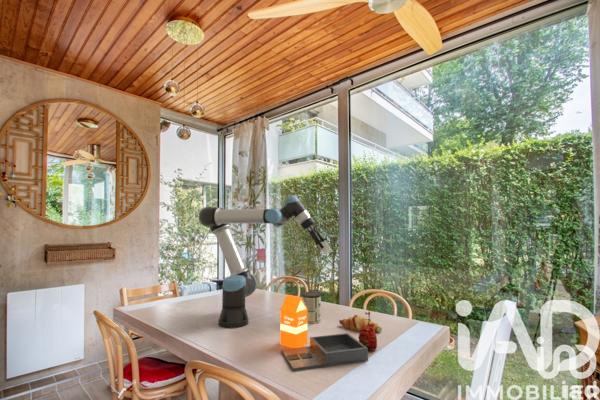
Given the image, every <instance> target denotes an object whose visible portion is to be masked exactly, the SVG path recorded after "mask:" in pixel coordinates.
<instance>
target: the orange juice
mask: <svg viewBox="0 0 600 400" xmlns="http://www.w3.org/2000/svg"><path fill="white" fill-rule="evenodd" d="M279 326H280V327H279V331H280V332H279V333H280V335H279V336H280V338H279V340H280V342H279V343H280V345H281V346H283V347H286V348H289V349H290V348H299V347H306V345H307V346H308V330H309V329H308V323H307V308H306V306H305V304H304V302H303V300H302V296H301V297H300V296H297V295H296V296H295V295H290V294H286V296H285V298H284V300H283V302H282V305H281V307H280V325H279Z"/></svg>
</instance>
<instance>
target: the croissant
mask: <svg viewBox="0 0 600 400" xmlns="http://www.w3.org/2000/svg"><path fill="white" fill-rule="evenodd" d="M368 319H369V318H365V317H364V316H362V315H359V314H354V316H353V317H352V316H350V317H348V318H344V319H339V320H338V322H339V324H340V325H341V326H343V327H344V328H346V329H347V330H350V331H354V332H359V333H360V331H361V329H362V326H363V325H365V326H367V325H368V322H370V326H371V327H373V329H374V331H375V333H379V332H382V330H383V327H381V326H380V325H379V324H378V323H377V322H373V320H372V319H371V318H370V321H369V320H368Z"/></svg>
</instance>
